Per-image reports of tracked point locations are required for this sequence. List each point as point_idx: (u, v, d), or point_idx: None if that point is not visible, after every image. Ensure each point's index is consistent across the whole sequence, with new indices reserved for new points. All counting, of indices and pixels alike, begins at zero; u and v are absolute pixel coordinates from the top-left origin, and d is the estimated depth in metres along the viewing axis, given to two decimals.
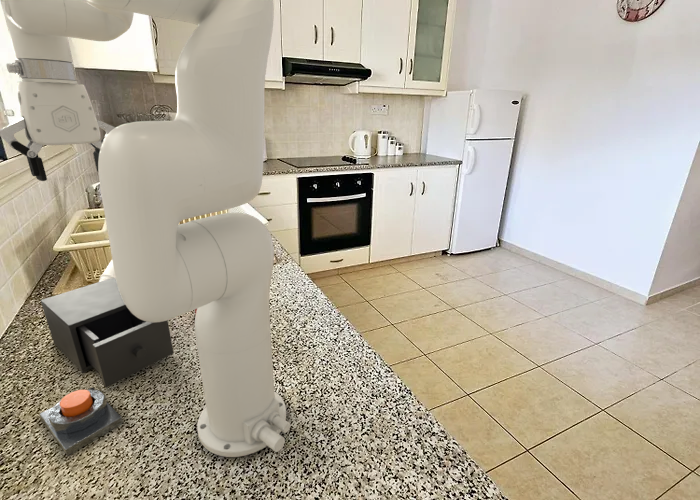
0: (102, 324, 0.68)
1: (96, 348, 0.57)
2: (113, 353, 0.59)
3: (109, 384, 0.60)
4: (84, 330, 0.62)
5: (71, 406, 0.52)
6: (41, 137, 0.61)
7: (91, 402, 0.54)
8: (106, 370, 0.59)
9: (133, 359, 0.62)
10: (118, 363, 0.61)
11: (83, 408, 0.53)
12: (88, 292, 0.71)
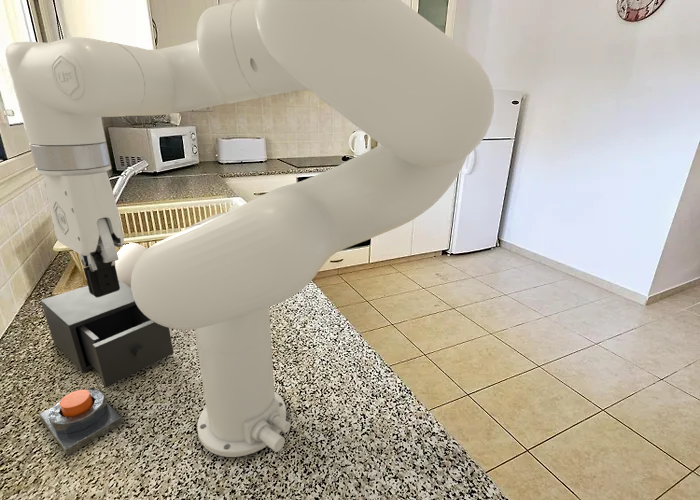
0: (102, 324, 0.68)
1: (96, 348, 0.57)
2: (113, 353, 0.59)
3: (109, 384, 0.60)
4: (84, 330, 0.62)
5: (71, 406, 0.52)
6: (56, 233, 0.49)
7: (91, 402, 0.54)
8: (106, 370, 0.59)
9: (133, 359, 0.62)
10: (118, 363, 0.61)
11: (83, 408, 0.53)
12: (88, 292, 0.71)
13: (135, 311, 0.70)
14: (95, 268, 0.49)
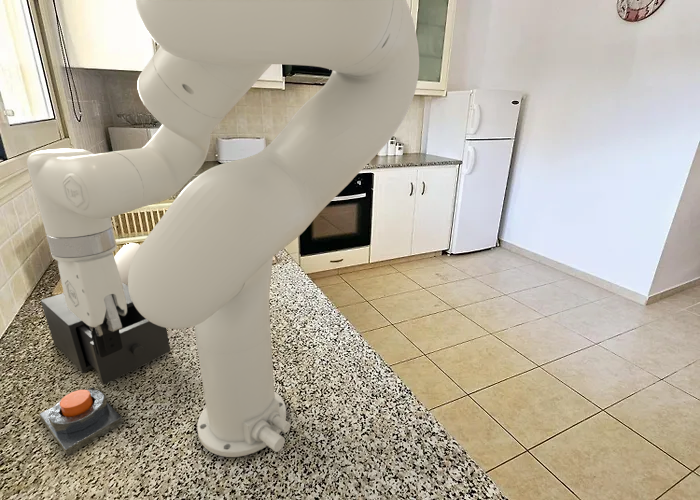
0: None
1: (93, 346, 0.58)
2: None
3: (106, 381, 0.61)
4: (82, 328, 0.62)
5: (71, 406, 0.52)
6: (66, 302, 0.55)
7: (91, 402, 0.54)
8: (103, 367, 0.60)
9: (130, 357, 0.63)
10: (115, 361, 0.61)
11: (83, 408, 0.53)
12: None
13: (132, 309, 0.71)
14: (101, 334, 0.55)
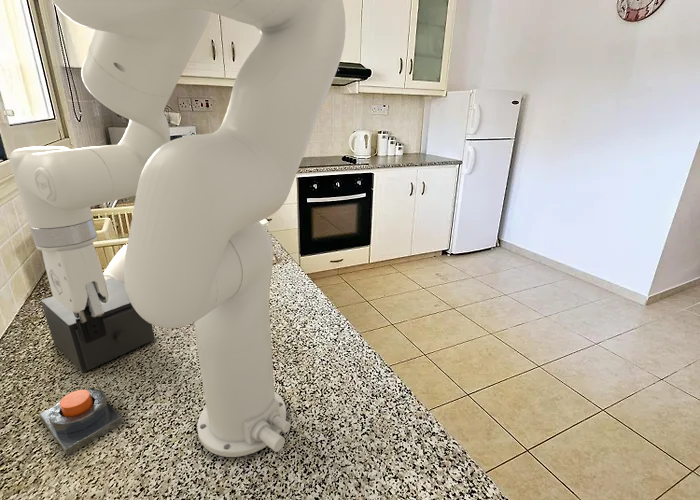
0: None
1: (78, 332, 0.61)
2: None
3: (91, 366, 0.64)
4: None
5: (71, 406, 0.52)
6: (52, 291, 0.59)
7: (91, 402, 0.54)
8: (88, 353, 0.63)
9: (114, 343, 0.66)
10: (99, 347, 0.64)
11: (83, 408, 0.53)
12: None
13: None
14: (85, 320, 0.58)
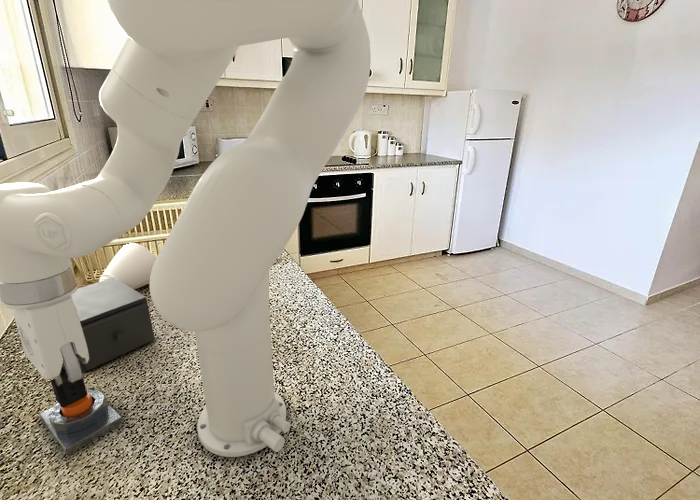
0: None
1: None
2: (94, 337, 0.63)
3: (91, 366, 0.64)
4: None
5: (72, 407, 0.52)
6: (23, 347, 0.50)
7: (91, 403, 0.54)
8: None
9: (114, 343, 0.66)
10: (99, 347, 0.64)
11: (83, 409, 0.53)
12: (88, 292, 0.71)
13: None
14: (61, 383, 0.50)
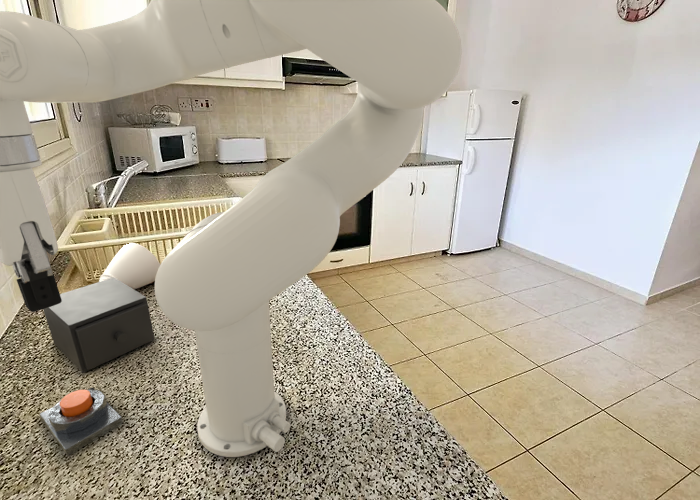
0: None
1: (78, 332, 0.61)
2: (94, 337, 0.63)
3: (91, 366, 0.64)
4: None
5: (71, 406, 0.52)
6: None
7: (91, 402, 0.54)
8: (88, 353, 0.63)
9: (114, 343, 0.66)
10: (99, 347, 0.64)
11: (83, 408, 0.53)
12: (88, 292, 0.71)
13: None
14: (27, 279, 0.43)
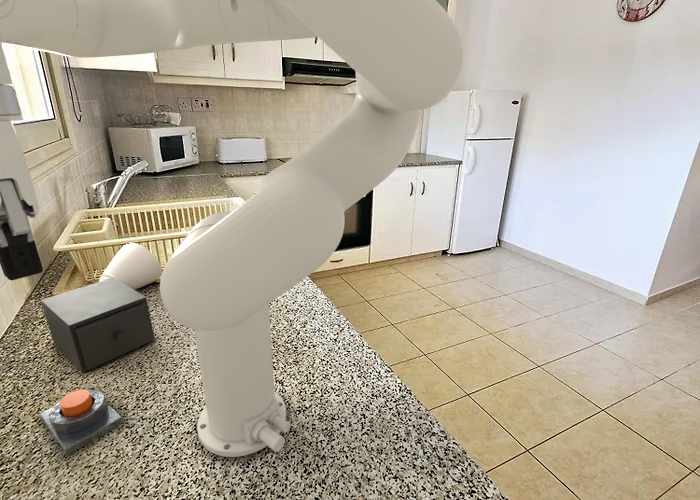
0: None
1: (78, 332, 0.61)
2: (94, 337, 0.63)
3: (91, 366, 0.64)
4: None
5: (71, 406, 0.52)
6: None
7: (91, 402, 0.54)
8: (88, 353, 0.63)
9: (114, 343, 0.66)
10: (99, 347, 0.64)
11: (83, 408, 0.53)
12: (88, 292, 0.71)
13: None
14: (5, 244, 0.40)
